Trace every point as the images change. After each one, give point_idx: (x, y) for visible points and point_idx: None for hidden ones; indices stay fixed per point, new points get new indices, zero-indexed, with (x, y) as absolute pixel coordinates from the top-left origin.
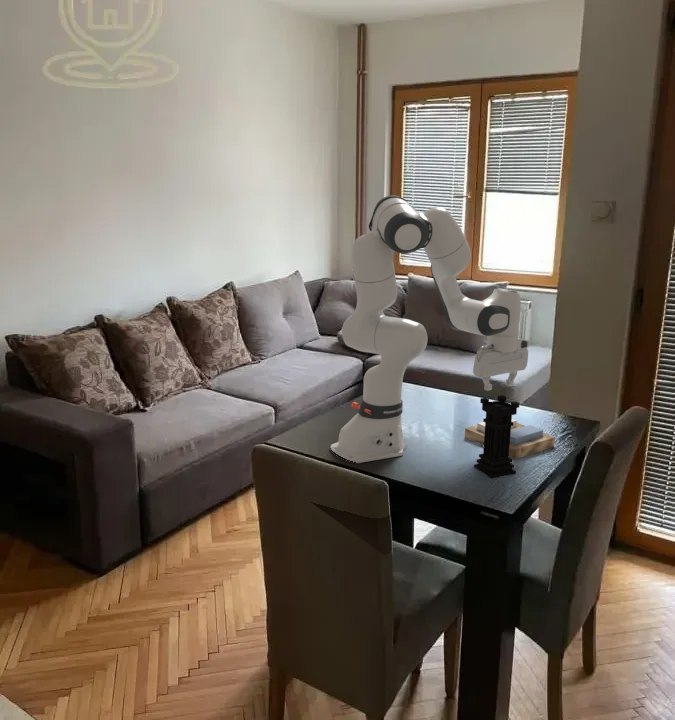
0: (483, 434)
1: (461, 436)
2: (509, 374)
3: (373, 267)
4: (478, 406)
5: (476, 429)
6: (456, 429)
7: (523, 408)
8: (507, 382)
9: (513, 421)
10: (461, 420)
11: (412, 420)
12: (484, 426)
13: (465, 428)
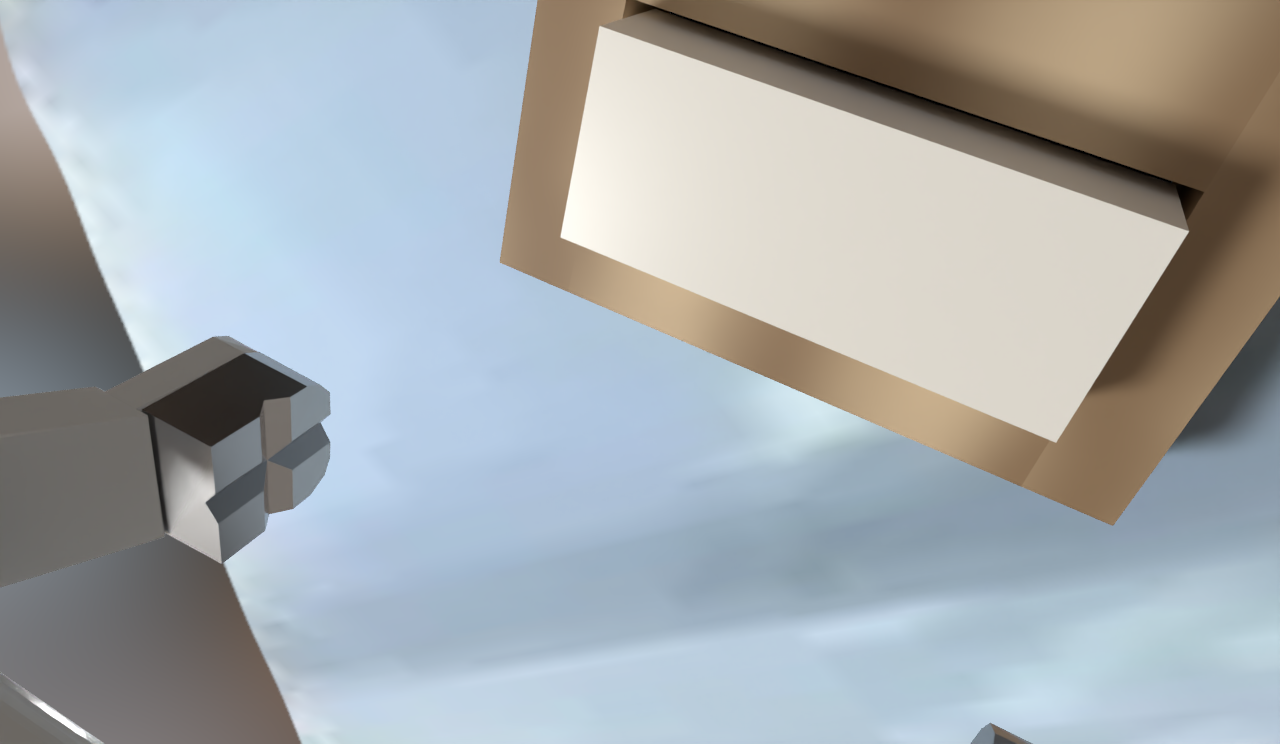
0: (1248, 264)
1: None
2: (10, 583)
3: None
4: (331, 533)
5: (1082, 401)
6: (916, 574)
7: (108, 238)
8: (266, 483)
9: (666, 49)
10: (671, 580)
11: None
12: (1125, 325)
13: (1113, 521)
